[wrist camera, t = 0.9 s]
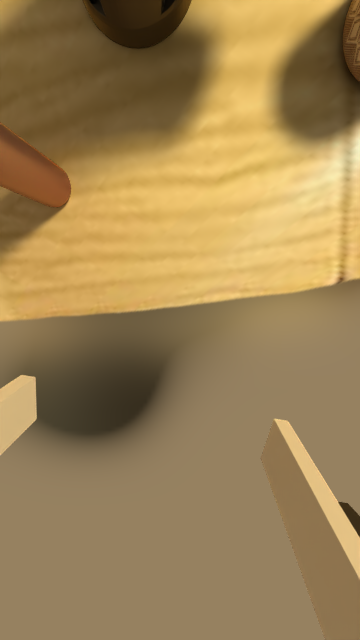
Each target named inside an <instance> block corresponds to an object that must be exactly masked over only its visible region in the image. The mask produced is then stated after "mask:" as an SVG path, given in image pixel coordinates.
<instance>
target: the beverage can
mask: <svg viewBox="0 0 360 640" xmlns="http://www.w3.org/2000/svg"><path fill="white" fill-rule="evenodd" d="M0 186H1V187H4V188H6V189H8V190H11V191H13V192H15V193H18V194H20V195H23V196H25V197H27V198H30V199H32V200H34V201H37V202H39V203H42V204H44V205H46V206H49V207H60V206H62V205H63V204H65V203H66V202H67V201H68V199H69V197H70V193H71V185H70V181H69V178H68V176H67V174H66V173H65V172H64V170H63V169H62V168H60V167H59V166H58V165H56V164H55V163H54V162H52V161H51V160H50V159H48V158H47V157H46V156H44V155H43V154H42V153H40V152H39V151H38V150H37V149H35V148H34V147H33V146H31V145H30V144H29V143H27V142H26V141H25V140H23V139H22V138H21V137H19V136H18V135H17V134H15V133H14V132H13V131H11V130H10V129H9V128H8V127H6V126H5V125H4V124H2V123H1V122H0Z"/></svg>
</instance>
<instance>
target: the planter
mask: <svg viewBox="0 0 360 640" xmlns="http://www.w3.org/2000/svg"><path fill="white" fill-rule="evenodd" d="M343 51H344V56H345V60H346V63H347V66H348V68H349V70H350V72H351V73H352V75H353V76H354V77H355V78H356V79H357V80H358V81H359V82H360V0H352V3H351V5H350V7H349V10H348V13H347V16H346V20H345V25H344V31H343Z"/></svg>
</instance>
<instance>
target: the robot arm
mask: <svg viewBox="0 0 360 640" xmlns="http://www.w3.org/2000/svg"><path fill="white" fill-rule="evenodd" d="M83 1H84V4H85V6H86V9H87V11H88V13H89V15H90V16H91V18H92V20H93V21H94V23H95V24H96V25H97V27H98V28H99V29H100V30H101V31H102V32H103V33H104V34H105V35H106V36H107V37H109V38H110V39H111V40H113V41H115V42H116V43H118V44H121V45H124V46H127V47H133V48H142V47H148V46H151V45H154V44H156V43H158V42H160V41H162V40H163V39H165V38H166V37H167V36H169V35H170V34H171V33H172V32H173V31H174V30H175V29H176V27H177V26H178V25H179V24H180V22H181V21H182V19H183V18H184V16H185V14H186V12H187V10H188V8H189V5H190V3H191V0H83ZM36 418H37V416H36V380H35V377H30V376H25V375H21V376H19V377H18V378H16V379H15V380H13V381H12V382H10V383H9V384H7V385H6V386H4V387H3V388H1V389H0V455H1V454H2V453H3V452H4V451H5V450H6V449H7V448H8V447H9V446H10V445H11V444H12V443H13V442H14V441H15V440H16V439H17V438H18V437H19V436H20V435H21V434H22V433H23V432H24V431H25V430H26V429H27V428H28V427H29V426H30V425H31V424H32V423H33V422H34V421H35V420H36ZM261 461H262V463H263V466H264V469H265V472H266V475H267V478H268V480H269V483H270V486H271V489H272V492H273V494H274V497H275V500H276V503H277V506H278V508H279V511H280V514H281V517H282V520H283V522H284V525H285V528H286V531H287V534H288V536H289V539H290V542H291V545H292V548H293V550H294V553H295V556H296V559H297V562H298V565H299V568H300V570H301V573H302V576H303V579H304V581H305V584H306V587H307V590H308V593H309V596H310V598H311V601H312V604H313V606H314V610H315V612H316V615H317V618H318V621H319V624H320V626H321V629H322V632H323V635H324V638H325V640H360V516H359V515H358V514H357V513H356V512H355V511H354V510H353V509H352V507H351V506H350V505H349V504H348V503H342V502H337V500H336V498H335V497H334V495H333V493H332V492H331V490H330V489H329V487H328V485H327V484H326V482H325V480H324V479H323V477H322V475H321V474H320V472H319V471H318V469H317V468H316V466H315V465H314V462H313V461H312V459H311V458H310V456H309V454H308V453H307V451H306V450H305V448H304V446H303V445H302V443H301V441H300V440H299V438H298V436H297V435H296V433H295V432H294V430H293V428H292V427H291V425H290V423H289V422H288V421H285V420H279V419H274V420H273V423H272V426H271V429H270V432H269V435H268V438H267V441H266V444H265V447H264V450H263V453H262V456H261Z"/></svg>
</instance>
